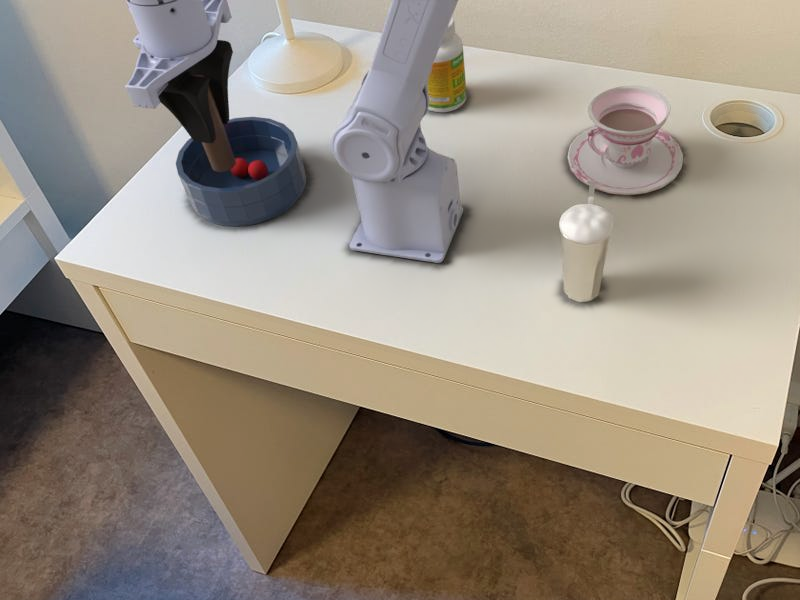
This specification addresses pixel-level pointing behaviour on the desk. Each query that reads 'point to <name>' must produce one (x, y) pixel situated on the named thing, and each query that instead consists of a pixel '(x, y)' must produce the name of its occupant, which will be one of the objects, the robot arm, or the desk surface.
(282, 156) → the bowl
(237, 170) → the berry
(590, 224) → the milkshake
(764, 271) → the desk surface
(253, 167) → the berry
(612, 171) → the teacup
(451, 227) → the robot arm
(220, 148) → the stirring stick
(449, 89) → the supplement bottle
